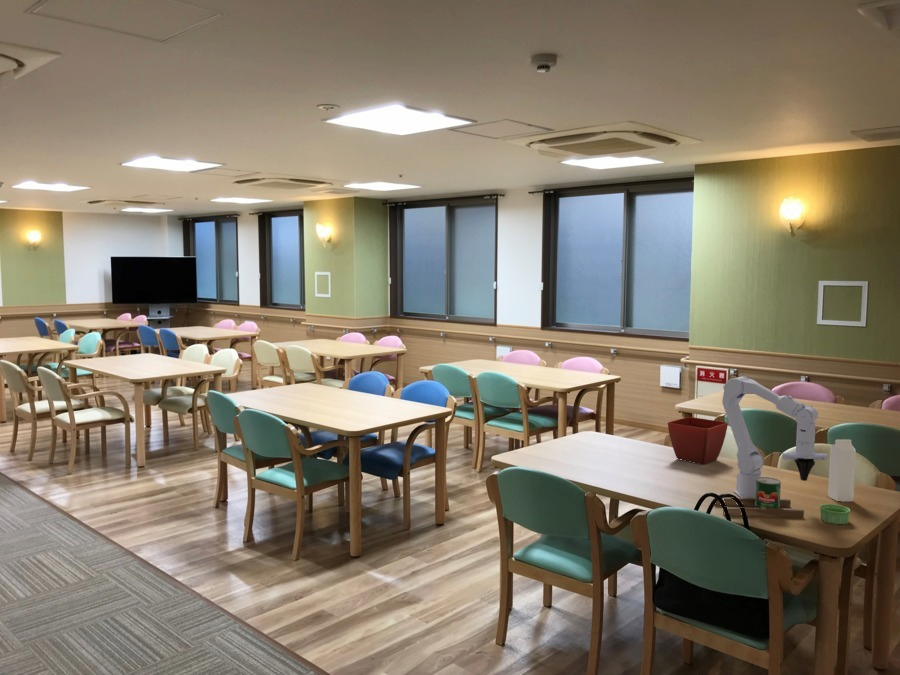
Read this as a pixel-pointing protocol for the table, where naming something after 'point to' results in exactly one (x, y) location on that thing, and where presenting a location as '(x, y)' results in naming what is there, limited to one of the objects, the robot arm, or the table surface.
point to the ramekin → (834, 513)
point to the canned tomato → (767, 492)
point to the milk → (842, 470)
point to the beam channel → (761, 509)
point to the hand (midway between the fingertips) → (803, 479)
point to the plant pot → (697, 439)
